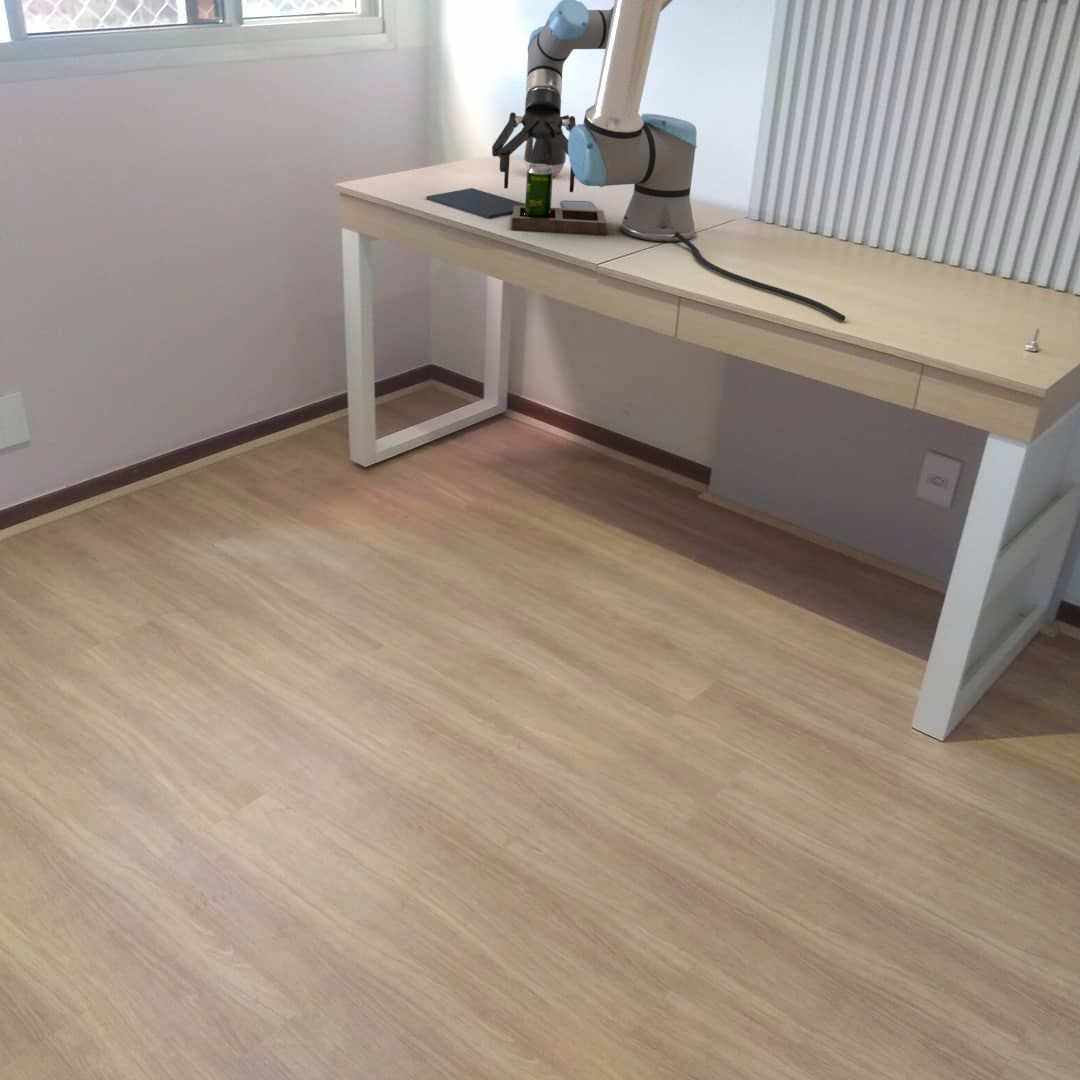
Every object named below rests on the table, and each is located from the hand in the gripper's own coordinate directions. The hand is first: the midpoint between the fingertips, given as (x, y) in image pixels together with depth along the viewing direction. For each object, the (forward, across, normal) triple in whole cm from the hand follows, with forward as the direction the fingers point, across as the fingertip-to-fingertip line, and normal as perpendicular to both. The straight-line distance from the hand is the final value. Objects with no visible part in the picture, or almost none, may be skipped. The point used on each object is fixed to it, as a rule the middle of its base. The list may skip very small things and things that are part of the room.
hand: (538, 186), depth 240 cm
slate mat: (-6, +13, -17) cm, 22 cm away
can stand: (+5, -4, -6) cm, 9 cm away
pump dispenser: (-28, -1, -40) cm, 49 cm away
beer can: (+5, 0, -7) cm, 8 cm away
